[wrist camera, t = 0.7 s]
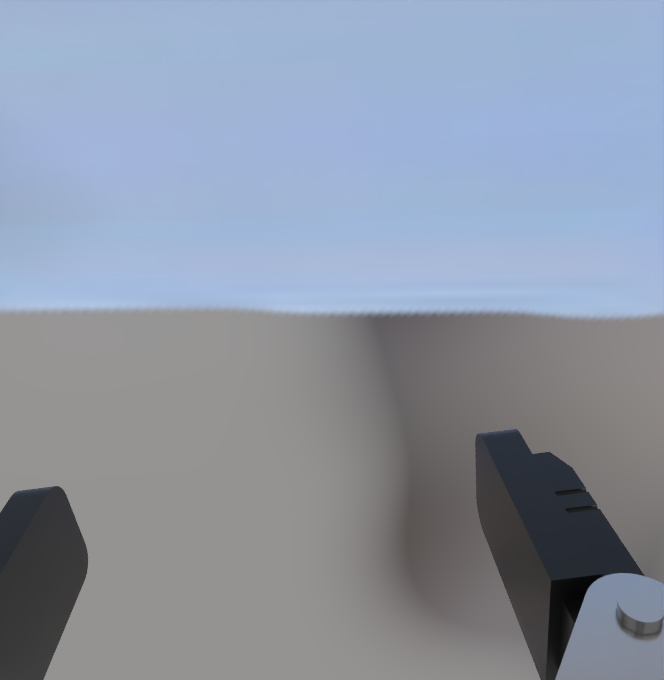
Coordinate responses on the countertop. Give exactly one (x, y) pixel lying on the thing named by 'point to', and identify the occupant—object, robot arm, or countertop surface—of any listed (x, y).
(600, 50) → the countertop surface
